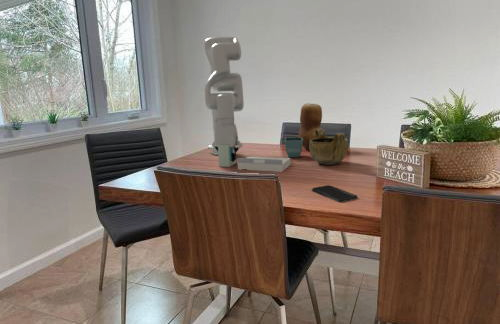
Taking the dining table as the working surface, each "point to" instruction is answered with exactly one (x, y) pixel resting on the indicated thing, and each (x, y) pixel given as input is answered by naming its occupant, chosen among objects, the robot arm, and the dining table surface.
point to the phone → (334, 193)
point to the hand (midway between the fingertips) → (227, 160)
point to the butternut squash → (309, 122)
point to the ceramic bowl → (328, 148)
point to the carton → (225, 156)
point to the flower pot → (293, 146)
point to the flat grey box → (263, 163)
